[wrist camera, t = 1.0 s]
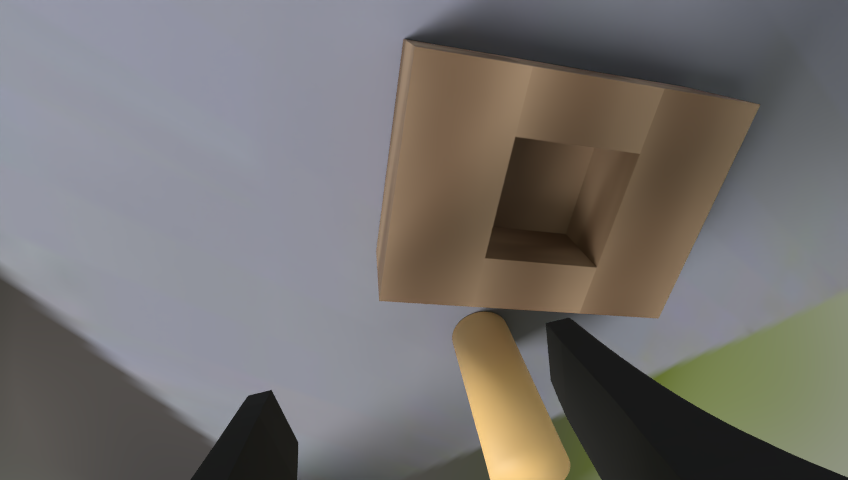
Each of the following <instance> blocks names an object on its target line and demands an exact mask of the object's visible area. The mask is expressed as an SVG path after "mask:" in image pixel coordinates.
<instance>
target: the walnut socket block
mask: <svg viewBox="0 0 848 480" xmlns="http://www.w3.org/2000/svg"><path fill="white" fill-rule="evenodd" d="M759 106H760V104H756V103H752V102H747V101H743V100H739V99H735V98H730V97H726V96H722V95H717V94H713V93H709V92H705V91H700V90H696V89H692V88H688V87H683V86H677V85H671V84H665V83H659V82H653V81H648V80H642V79H636V78H630V77H624V76H618V75H612V74H607V73H601V72H595V71H589V70H583V69H577V68H571V67H566V66H560V65H554V64H548V63H542V62H536V61H530V60H525V59H519V58H513V57H507V56H501V55H495V54H489V53H484V52H478V51H472V50H466V49H460V48H454V47H448V46H443V45H437V44H431V43H425V42H419V41H413V40H407V39H404V40H403V47H402V55H401V63H400V71H399V79H398V86H397V94H396V102H395V110H394V117H393V125H392V133H391V141H390V149H389V156H388V164H387V172H386V180H385V188H384V195H383V203H382V211H381V219H380V226H379V234H378V242H377V250H376V253H377V270H378V287H379V301H390V302H406V303H422V304H438V305H454V306H470V307H486V308H501V309H517V310H533V311H549V312H565V313H581V314H597V315H613V316H629V317H645V318H659V316H660V314H661V312H662V310H663V308H664V306H665V304H666V302H667V299H668V297H669V295H670V293H671V291H672V289H673V287H674V285H675V283H676V281H677V278H678V276H679V274H680V272H681V270H682V268H683V266H684V264H685V262H686V260H687V258H688V255H689V253H690V251H691V249H692V247H693V245H694V243H695V241H696V239H697V237H698V234H699V232H700V230H701V228H702V226H703V224H704V222H705V220H706V218H707V216H708V213H709V211H710V209H711V207H712V205H713V203H714V201H715V199H716V197H717V195H718V192H719V190H720V188H721V186H722V184H723V182H724V180H725V178H726V176H727V174H728V172H729V169H730V167H731V165H732V163H733V161H734V159H735V157H736V155H737V153H738V151H739V148H740V146H741V144H742V142H743V140H744V138H745V136H746V134H747V132H748V130H749V127H750V125H751V123H752V121H753V119H754V117H755V115H756V113H757V111H758V109H759Z"/></svg>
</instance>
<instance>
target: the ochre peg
mask: <svg viewBox="0 0 848 480" xmlns="http://www.w3.org/2000/svg"><path fill="white" fill-rule="evenodd" d="M452 340H453V345H454V348H455V352H456V356H457V359H458V363H459V366H460V370H461V374H462V377H463V381H464V385H465V388H466V392H467V396H468V399H469V403H470V407H471V410H472V414H473V417H474V421H475V425H476V428H477V432H478V436H479V439H480V443H481V447H482V450H483V454H484V457H485V461H486V465H487V468H488V472H489V476H490V479H491V480H564V479H565V478H566V476H567V475H568V473H569V470H570V460H569V458H568V456H567V453H566V451H565V449H564V447H563V445H562V443H561V441H560V438H559V436H558V434H557V432H556V430H555V427H554V425H553V423H552V421H551V419H550V417H549V415H548V412H547V410H546V408H545V406H544V404H543V402H542V399H541V397H540V395H539V393H538V391H537V389H536V386H535V384H534V382H533V380H532V378H531V376H530V373H529V371H528V369H527V367H526V365H525V363H524V360H523V358H522V356H521V354H520V352H519V350H518V347H517V345H516V343H515V341H514V339H513V337H512V334H511V332H510V330H509V328H508V326H507V324H506V322H505V320H504V319H503V318H502V317H501V316H499V315H497V314H495V313H492V312H477V313H473V314H471V315H468V316H467V317H465V318H463V319H462V320H461V321H460V322H459V323H458V324H457V325H456V327H455V329H454V331H453V335H452Z"/></svg>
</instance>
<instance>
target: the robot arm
mask: <svg viewBox="0 0 848 480" xmlns="http://www.w3.org/2000/svg"><path fill="white" fill-rule="evenodd" d="M546 332H547V343H548V354H549V365H550V376H551V382H552V384H553V387H554V389H555V392H556V394H557V396H558V399H559V401H560V403H561V406H562V408H563V410H564V413H565V415H566V417H567V419H568V420H569V423H570V424H571V426H572V428H573V430H574V432H575V433H576V435H577V437H578V439H579V441H580V442H581V444H582V446H583V448H584V449H585V451H586V452H587V454H588V456H589V458H590V460H591V462H592V463H593V465H594V467H595V468H596V471H597V472H598V474H599V476H600V478H601V479H602V480H848V477H845V476H843V475H840V474H838V473H835V472H833V471H831V470H828V469H826V468H823V467H821V466H818V465H816V464H813V463H811V462H808V461H806V460H804V459H801V458H799V457H797V456H795V455H792V454H790V453H788V452H786V451H784V450H782V449H779V448H777V447H775V446H773V445H771V444H769V443H767V442H765V441H762V440H760V439H758V438H756V437H754V436H752V435H750V434H747V433H745V432H743V431H741V430H739V429H737V428H735V427H733V426H731V425H729V424H727V423H726V422H724V421H722V420H720V419H718V418H716V417H715V416H713V415H711V414H709V413H707V412H705V411H704V410H702V409H700V408H698V407H696V406H695V405H693V404H691V403H690V402H688V401H686V400H685V399H683V398H681V397H680V396H678V395H676V394H675V393H673V392H672V391H670V390H669V389H667V388H665V387H664V386H662V385H661V384H659V383H657V382H656V381H655V380H653V379H652V378H650V377H649V376H647V375H646V374H644V373H643V372H641V371H640V370H638V369H637V368H635V367H634V366H633V365H631V364H630V363H628V362H627V361H626V360H624V359H623V358H621V357H620V356H619V355H617V354H616V353H614V352H613V351H612V350H610V349H609V348H608V347H606V346H605V345H604V344H603V343H601V342H600V341H599V340H597V339H596V338H595V337H593V336H592V335H591V334H590V333H588V332H587V331H586V330H585V329H583V328H582V327H581V326H579V325H578V324H577V323H576V322H574V321H573V320H572V319H570V318H566V319H561V320H557V321H553V322H549V323H546ZM297 468H298V441H297V439H296V437H295V435H294V433H293V431H292V429H291V428H290V426H289V424H288V422H287V420H286V418H285V416H284V414H283V412H282V410H281V408H280V406H279V404H278V402H277V400H276V398H275V396H274V394H273V392H272V390H270V391H266V392H262V393H257V394H253V395H249V396H248V397H247V398H246V400H245V401H244V402H243V404H242V405H241V407H240V408H239V410H238V411H237V413H236V414H235V416H234V417H233V419H232V420H231V422H230V423H229V425H228V426H227V428H226V429H225V431H224V432H223V434H222V435H221V436H220V438H219V439H218V441H217V442H216V444H215V445H214V447H213V448H212V450H211V451H210V453H209V454H208V456H207V457H206V459H205V460H204V461H203V463H202V464H201V466H200V467H199V468H198V470H197V471H196V473H195V474H194V476H193V477H192V478H191V480H297Z"/></svg>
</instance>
